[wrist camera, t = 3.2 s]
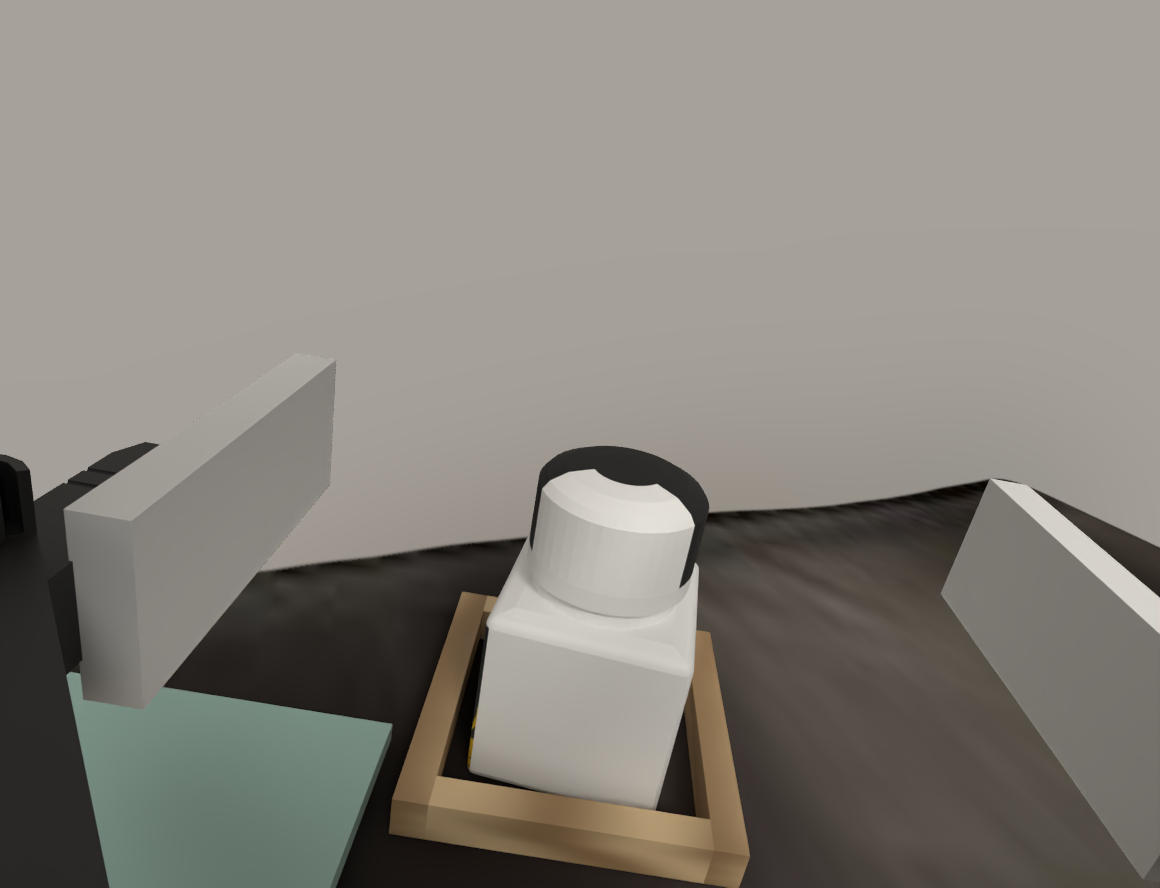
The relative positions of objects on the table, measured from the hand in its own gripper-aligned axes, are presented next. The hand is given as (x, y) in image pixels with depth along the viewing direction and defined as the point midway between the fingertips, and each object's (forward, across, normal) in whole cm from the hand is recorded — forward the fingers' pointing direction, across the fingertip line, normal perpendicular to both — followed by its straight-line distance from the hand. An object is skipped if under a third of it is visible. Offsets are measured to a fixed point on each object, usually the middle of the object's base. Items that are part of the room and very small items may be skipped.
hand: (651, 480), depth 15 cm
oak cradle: (+10, +1, -16) cm, 19 cm away
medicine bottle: (+10, +1, -16) cm, 19 cm away
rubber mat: (+3, -13, -16) cm, 21 cm away
